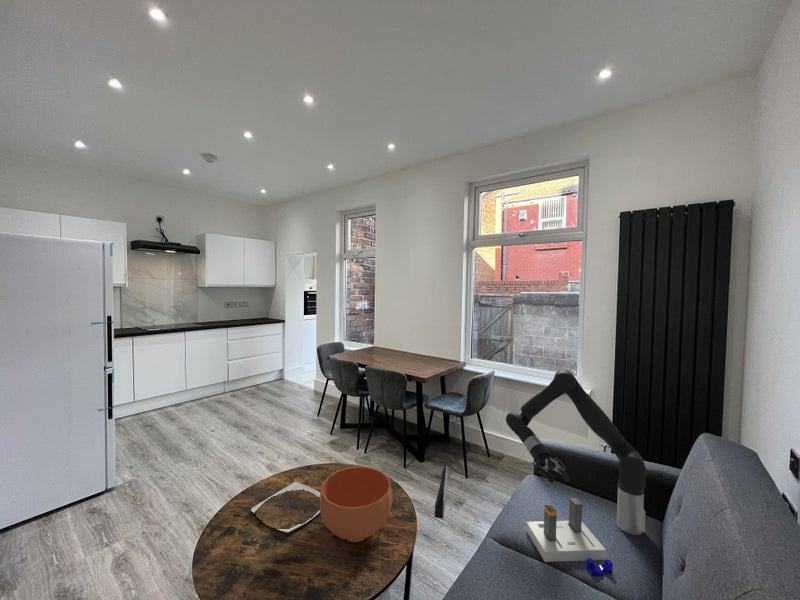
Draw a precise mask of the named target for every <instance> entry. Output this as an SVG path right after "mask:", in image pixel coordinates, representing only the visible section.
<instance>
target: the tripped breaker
mask: <svg viewBox="0 0 800 600" xmlns="http://www.w3.org/2000/svg"><path fill="white" fill-rule="evenodd" d="M543 508H544V511H543V513H544V514H543V515H544V516H543V521H544V535H545V536H546V538H547V539H548V541H556V521H557V514H558V511H557V509H556V508H554V505H552V504H544V505H543Z"/></svg>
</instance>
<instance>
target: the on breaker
mask: <svg viewBox="0 0 800 600" xmlns="http://www.w3.org/2000/svg"><path fill="white" fill-rule="evenodd" d="M568 505H569V506H568V507H569V508H568V511H569V512H568V521H569V526H570V528H571V529H572V530H573V531H574V533H577V532H581V526H582V522H583V521H582V520H583V516H582V515H583V503H582V502H581V501H580V500H579V499H578V497H570V498H569V504H568Z"/></svg>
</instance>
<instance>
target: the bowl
mask: <svg viewBox="0 0 800 600" xmlns="http://www.w3.org/2000/svg"><path fill="white" fill-rule="evenodd" d="M392 506H393V489H392V484H391V481H390V477H388V476H387V475H386V474H385V473H384V472H383V471H381V470H379V469H377V468H374V467H369V466H361V465H360V466H349V467H346V468H343V469H339V470H336V471H335V472H333V473H332V474H330V475H329V476H327V477H326V479H325V480H324V482H323V483H322V485H321V488H320V513H319V514H320V517H321V520H322V522H323V523H324V525H325V527H326V528H327V529H328V530H329V531H330V532H331V533H332V534H333V535H335V536H336V537H338V538H340V539H342V540H345V539H347V540H353V541H356V540H361V539H365V538H366V539H367V538H369V537H371V536H373V535H375V534H376V533H377V532H378V531H379V530H380V529H381V528H382V527H383V525H384V524H385V523H386V522H387V520H388V517H389V515H390V512H391V508H392ZM366 539H365V540H366ZM347 540H346V541H347Z"/></svg>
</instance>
